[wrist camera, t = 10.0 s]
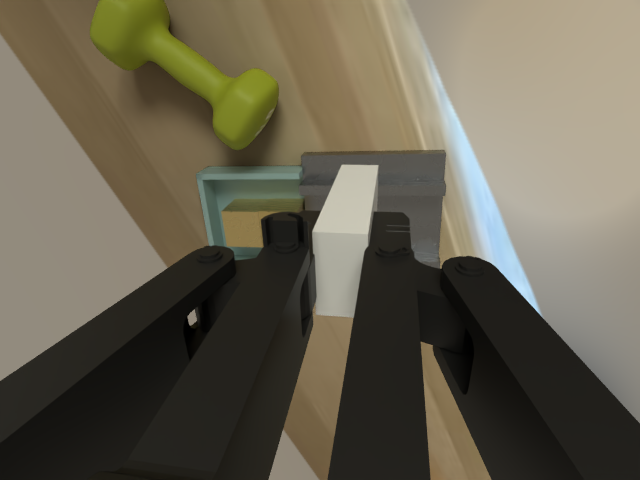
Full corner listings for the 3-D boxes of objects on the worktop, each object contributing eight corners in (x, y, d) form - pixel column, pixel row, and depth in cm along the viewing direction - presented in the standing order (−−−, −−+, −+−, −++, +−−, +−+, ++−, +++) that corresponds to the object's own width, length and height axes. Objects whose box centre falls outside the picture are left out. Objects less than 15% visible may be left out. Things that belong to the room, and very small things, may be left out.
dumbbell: (122, 50, 41) (70, 50, 35) (152, -27, 38) (101, -42, 31) (254, 149, 43) (229, 167, 37) (295, 85, 40) (275, 91, 33)
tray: (208, 166, 45) (195, 173, 42) (305, 165, 43) (298, 173, 40) (223, 256, 49) (213, 268, 47) (312, 259, 47) (306, 272, 45)
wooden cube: (269, 198, 44) (258, 211, 41) (305, 198, 44) (296, 211, 40) (273, 231, 46) (262, 247, 43) (307, 232, 45) (300, 248, 42)
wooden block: (235, 198, 45) (220, 211, 42) (269, 198, 44) (258, 211, 41) (240, 231, 47) (226, 246, 43) (273, 232, 46) (262, 247, 43)
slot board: (304, 152, 42) (296, 160, 39) (444, 150, 40) (448, 158, 36) (312, 270, 48) (306, 285, 45) (435, 275, 45) (437, 291, 42)
